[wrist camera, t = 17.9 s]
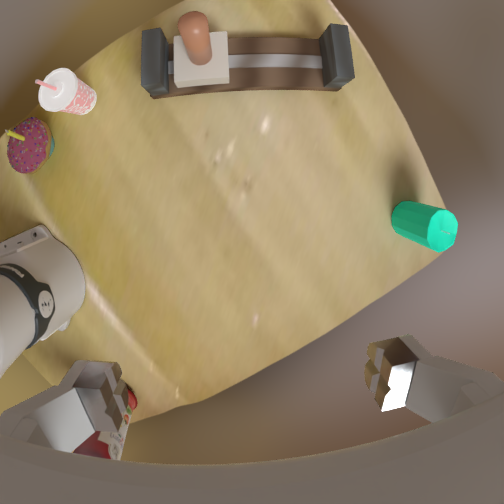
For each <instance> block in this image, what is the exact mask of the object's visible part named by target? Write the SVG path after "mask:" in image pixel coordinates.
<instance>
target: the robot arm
mask: <svg viewBox="0 0 504 504" xmlns="http://www.w3.org/2000/svg"><path fill="white" fill-rule="evenodd" d="M35 233H36V234H37V236H36V235H35ZM84 297H85V279H84V275H83V271H82V269H81V266H80V264H79V262H78V260H77V259H76V257H75V256H74V254H73V253H72V252H71V251H70V250H69V249H68V248H67V247H66V246H65V245H64V244H62V243H61V242H59V241H58V240H56V239H55V238H54V237H53V236H52V235H51V233H50V232H49V230H48V229H47V228H46V227H45V226H44V225H38V226H36V227H34V228H31V229H29V230H27V231H24V232H22V233H20V234H18V235H16V236H13V237H11V238H9V239H7V240H5V241H3V242H1V243H0V378H1V376H2V375H3V374H4V372H5V371H6V370H7V368H8V367H9V366H10V365H11V364H12V363H13V362H14V361H15V359H16V358H17V357H18V356H19V355H20V354H21V353H22V352H23V351H24V350H25V349H28V348H30V347H31V346H33V345H34V344H36V343H37V342H38V341H39V340H45V339H46V338H48V337H49V336H50V335H51V334H53V333H54V332H55V331H56V330H59V331H64V330H65V329H66V328H67V327H68V325H69V322H70V319H71V317H72V316H73V315H74V314H75V313H76V312H77V311H78V310H79V308H80V307H81V305H82V303H83V300H84ZM367 355H368V356H369V358H370V360H369V361H368V362H367V363H366V365H365V372H364V374H365V382H366V385H367V387H368V389H369V390H370V391H371V392H374V393H376V394H375V400H376V402H377V404H378V405H379V407H380V409H381V410H382V411H385V410H390V409H393V408H398V407H402V406H405V407H406V408H408V409H410V410H411V411H413V412H415V413H416V414H418V415H420V416H422V417H424V418H425V419H427V420H429V421H430V422H432V424H429V425H426V426H423V427H421V428H418V429H415V430H412V431H409V432H406V433H403V434H399V435H396V436H393V437H389V438H387V439H382V440H379V441H375V442H372V443H368V444H363V445H359V446H355V447H351V448H346V449H342V450H337V451H332V452H327V453H321V454H316V455H311V456H303V457H297V458H290V459H282V460H274V461H264V462H253V463H241V464H240V463H239V464H222V465H221V464H219V465H175V464H174V465H173V464H154V463H141V462H130V461H120V460H113V459H105V458H99V457H92V456H86V455H81V454H75V453H71V452H72V451H73V450H74V449H76V448H77V447H78V446H79V445H80V444H82V443H83V442H84V441H85V440H86V439H87V438H89V437H90V436H91V435H92V434H93V433H94V432H95V431H104V432H117V433H118V431H119V429H120V426H121V423H122V420H123V418H122V415H121V413H123V412H124V411H126V409H127V406H128V400H129V395H128V389H127V386H126V383H125V382H124V381H122V380H121V379H120V377H121V375H122V370H121V368H120V365H119V364H118V363H117V362H106V361H89V360H77V361H75V362H74V364H73V365H72V367H71V368H70V370H69V371H68V372H67V374H66V375H65V377H64V378H63V380H62V381H61V382H60V384H59V385H58V386H53V387H51V388H49V389H47V390H45V391H43V392H41V393H39V394H37V395H35V396H33V397H31V398H29V399H27V400H25V401H23V402H21V403H19V404H17V405H15V406H13V407H11V408H9V409H7V410H5V411H4V412H3V413H2V414H1V416H0V504H504V382H503V381H502V380H500V379H499V378H498V377H497V376H496V375H495V374H494V373H493V372H489V371H486V370H483V369H479V368H476V367H472V366H469V365H466V364H462V363H459V362H456V361H453V360H449V359H446V358H443V357H439V356H434V357H433V356H432V355H431V354H430V353H429V352H428V351H427V350H426V349H425V348H424V347H423V346H422V345H421V344H420V343H419V342H418V341H417V340H416V339H415V338H414V337H413V336H412V335H409V334H407V335H404V336H399V337H396V338H391V339H387V340H383V341H377V342H373V343H370V344H369V346H368V350H367Z"/></svg>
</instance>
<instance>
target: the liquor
mask: <svg viewBox="0 0 504 504" xmlns="http://www.w3.org/2000/svg"><path fill="white" fill-rule="evenodd" d="M128 395H129V400H128V406H127V409H126V411H124V412H123V413H121V415H122V418H123V420H122V423H121V426H120V429H119V431H118V433H117V432H104V431H95V432H94V433H93V434H92V435H91V436H90V437H89V438H87V439H86V440H85V441H84V442H83V443H82V444H80V445H79V446H78V447H77V448H76V449H75V450H74V452H73V453H75V454H81V455H86V456H92V457H99V458H105V459H113V460H120V458H121V453H122V450H123V445H124V440H125V436H126V432H127V429H128V425H129V421H130V418H131V415H132V411H133V410H134V409H135V408H136V406H137V399H136V397H135V395H134V394H133V393H132V392H131V391H130V390H128Z"/></svg>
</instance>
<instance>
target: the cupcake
mask: <svg viewBox="0 0 504 504" xmlns="http://www.w3.org/2000/svg"><path fill="white" fill-rule="evenodd" d="M5 131H6V132H7V135H9V136H11V137H10V139H9V142H8V145H7V147H8V150H7V155H8V158H9V161H10V162H9V163H10V164H11V165H12V167H13V168H14V169H15V170H16V171H18V172H20V173H25V174H33V173H35V172H36V171H38V170H39V169H40V168H41V167H42V166H43V165H44V163H45V162H46V161H47V160H48V158H49V157H50V156H51V154H52V152H53V149H54V139H53V137H52V135H51V131H50V129H49V127H48V125H47V124H46V123H45V122H43V121H41V120H39V119H37V118H35V117H31V118H28V119H26V120H25V121H23V122H22V123H19V125H18V126H17V127H16V128H14V130H13V131H10V130H8V131H7V130H5Z"/></svg>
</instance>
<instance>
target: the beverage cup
mask: <svg viewBox="0 0 504 504" xmlns="http://www.w3.org/2000/svg"><path fill="white" fill-rule="evenodd" d="M35 83H37V84H39V85H41V87H40V90H39V102H40V105H41V107H43V108H44V109H45V110H46V111H52V112H57V111H63V112H68V113H74V114H79V115H83V114H87V113H88V112H90V111H91V110H92V109H93V107H94V106H95V103H96V100H97V98H96V93H95V91H94V90H93V89H92V88H90V87H89V86H88V85H86V84H85V83H84V82H82V81H81V80H80V79H78V78H77V77H76V75H75V73H73V72H72V71H70V70H69V69H67V68H59V69H56V70H54V71H52V72H51V73H50V74H49V75H48V76H46V78H45V79H44V81H40V80H36V81H35Z"/></svg>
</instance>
